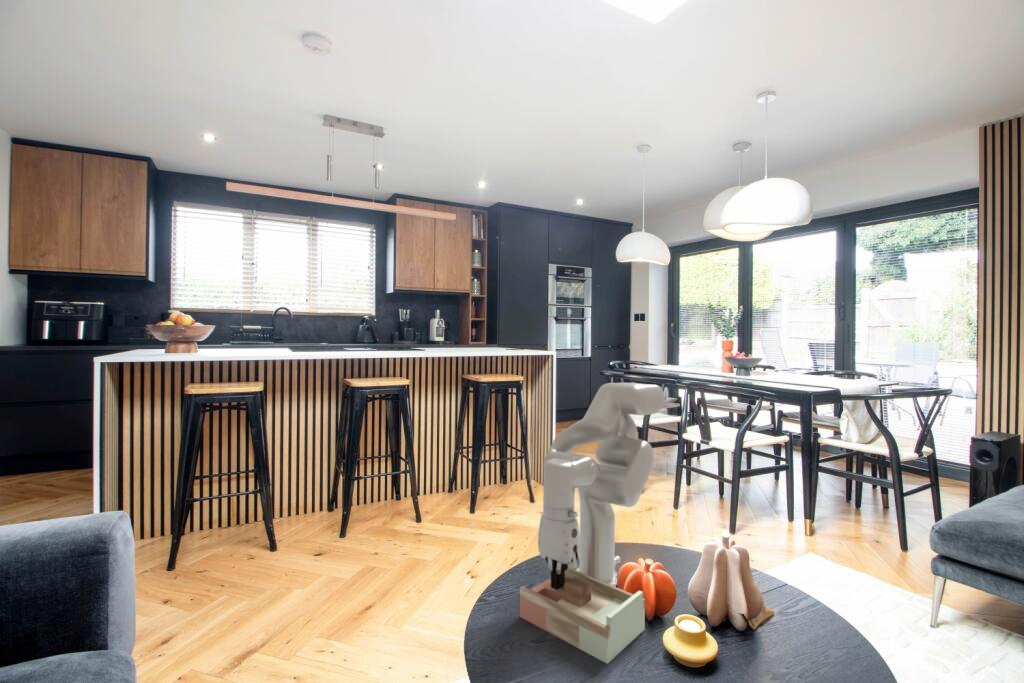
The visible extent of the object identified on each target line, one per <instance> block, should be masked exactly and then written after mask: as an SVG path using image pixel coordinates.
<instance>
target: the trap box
mask: <svg viewBox="0 0 1024 683" xmlns="http://www.w3.org/2000/svg"><path fill="white" fill-rule="evenodd" d="M575 570H576V569H574V570H569V569H567V570H566V571H565V582H567V581H569V580H570V579H572V578H574V577H575V576H576V577H578V578H581V579H583V580H586V581H588V582H590V583H591V600H590V601H589V602H587V603H586V604H585V605H583V606H582V607H578V606H576V605H573V604H571V603H569V602H567V601H565V600H564V586H563V587H561V588H560V589H558V590H555V589H554V588H551V577H549V578H548V579H546V580H544V581H543V582H541V583H540V584H538V585H536V586H535V587H533V588H531V589H530V588H528V587H526V586H524V585H521V586H519V618H520V619H523V620H525V621H527V622H529V623H531V624H532V625H534V626H536V627H538V628H540V629H542V630H544V631H545V632H548V633H549V634H551V635H553V636H555V637H557V638H558V639H560V640H562V641H564V642H567V643H568V644H570V645H572V646H573V647H575V648H577V649H578V650H581V651H583V652H584V653H586V654H588V655H590V656H593V657H594V658H596V659H598V660H599V661H601V662H603V663H605V664H606V665H607V664H609V663H610V662H611V661H613V660H614V659H615V657H617V656H618V655H619V654H620V653H621V652H622V651H623V650H625V649H626V647H627V646H628V645H629V644H631V643H632V642H633V641H634V640H635V639H636V638H638V636H639V635H640V634H642V633H643V631H645V629H646V628H645V626H646V625H645V624H646V622H645V621H646V619H645V618H646V616H645V615H646V598H644V591H641V590H638V591H636V592H635V593H631V592H628V591H627V590H624V589H622V588H619V587H618V586H617V587H614V586H612V585H609V584H607V583H605V582H602V581H600V580H597V579H595V578H592V577H590V576H587V575H585V574H582V573H580V572H578V571H575Z"/></svg>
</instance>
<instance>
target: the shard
mask: <svg viewBox="0 0 1024 683" xmlns="http://www.w3.org/2000/svg"><path fill="white" fill-rule="evenodd" d="M774 614H775V611H774V610H773V609H771V608H770V607H769V606H767V605H766V604H763V609H762V611H761V613H760V614H759V615H758V616H757V617H756V618H753V619H751V620H749V624H748V625H749V626H750V627H751V629H753V630H756V629H757V628H758V627H759V626H760V624H762V623H763V622H764V621H766V620H767V619H768V618H770V617H772V616H773V615H774Z"/></svg>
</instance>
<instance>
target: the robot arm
mask: <svg viewBox="0 0 1024 683" xmlns="http://www.w3.org/2000/svg"><path fill="white" fill-rule="evenodd" d="M664 404H665V393H664V390H663V389H662V388H661V386H659V385H657V384H651V383H649V384H647V383H638V382H637V383H635V382H608V383H604V384H602V385H601V386H600V387H599V388H598V390H597V392H596V394H595V395H594V398H593V399H592V402H591V403H590V405H589V407H588V409H587V410H586V412H585V414H584V416H583V418H582V419H580V420H578V421H576V422H575V423H573V424H571V425H569V426H568V427H567V428H565V429H564V430H562V431H561V432H560V433H559V434H558V435H557V436H555V438H554V439H553V441H552V443H551V445H550V447H549V449H548V450H547V452H546V454H545V457H544V460H543V482H542V483H543V484H542V485H543V490H542V491H543V492H542V493H543V496H542V498H543V499H542V502H543V505H542V514H541V517H540V521H539V526H538V536H537V548H538V552H539V556H540V557H541V558H543V559H544V560H545V562H546V563H547V566H548V570H549V571H550V578H551V588H554V589H555V590H558V589H560V588H561V587H563V586H564V583H565V571H566V570H567V569H569V570H575V571H578V572H580V573H582V574H585V575H587V576H590V577H592V578H595V579H597V580H600V581H602V582H605V583H607V584H609V585H612V586H614V587H616V584H617V573H618V572H617V571H616V566H617V565H618V564H620V563H621V562H622V559H621V556H619V555H615V553H616V552H615V551H616V550H615V548H616V543H615V542H616V541H615V540H616V516H615V512H614V509H613V506H612V505H614V506H615V505H616V506H620V507H625V508H631V507H632V508H633V507H634V506H635V505H636V504H637V503H638V502H639V500H640V499H641V496H642V494H643V491H644V488H645V486H646V485H647V484H646V483H647V481H648V479H649V476H650V474H651V470H652V468H653V464H654V449H653V447H652V445H651V444H650V443H649V442H648V441H646V440H643V439H641V438H636V437H637V433H638V428H637V425H636V423H635V420H634V419H633V418H632V416H631V415H634V416H635V415H636V416H648V415H654V414H657V413H659V412H660V411H661V410H662V408H663V406H664ZM596 442H599V443H598V446H597V448H596V452H595V459H594V458H593V457H591V456H588V455H583V454H579V453H575V452H574V453H573V452H572V451H573V450H574V449H576V448H577V447H580V446H583V445H587V444H591V443H596ZM575 489H577V491H578V492H577V493H578V499H579V511H580V512H579V515H578V512H577V511H575ZM611 504H612V505H611ZM578 516H579V522H578V519H577V517H578ZM577 560H579V566H578V563H577Z"/></svg>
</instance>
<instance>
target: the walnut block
mask: <svg viewBox="0 0 1024 683" xmlns="http://www.w3.org/2000/svg"><path fill="white" fill-rule="evenodd" d="M564 600H565V601H567V602H569V603H571V604H573V605H576V606H578V607H582V606H583V605H585V604H586V603H587V602H589V601H590V600H591V583H590V582H588V581H586V580H583V579H581V578H578V577H576V576H575V577H574V578H572V579H570V580H569V581H567V582H565V583H564Z"/></svg>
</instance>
